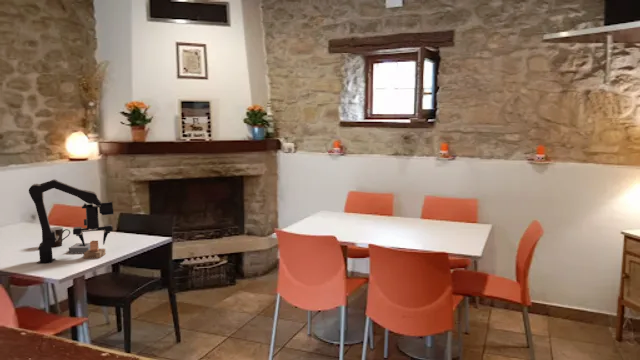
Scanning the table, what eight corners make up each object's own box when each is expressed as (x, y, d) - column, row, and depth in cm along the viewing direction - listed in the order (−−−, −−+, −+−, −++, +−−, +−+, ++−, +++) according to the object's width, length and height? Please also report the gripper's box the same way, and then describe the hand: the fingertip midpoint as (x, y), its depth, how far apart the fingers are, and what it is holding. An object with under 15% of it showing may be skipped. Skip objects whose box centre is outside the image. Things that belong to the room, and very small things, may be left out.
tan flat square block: (100, 258, 263) (99, 252, 263) (84, 258, 263) (83, 252, 262) (105, 254, 271) (105, 248, 271) (90, 254, 271) (89, 248, 270)
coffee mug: (44, 248, 283) (43, 230, 282) (49, 244, 292) (48, 227, 291) (67, 247, 286) (66, 229, 284) (71, 243, 294) (70, 226, 293)
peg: (96, 257, 265) (95, 242, 264) (90, 257, 265) (90, 242, 264) (99, 255, 268) (98, 240, 267) (93, 255, 268) (92, 240, 267)
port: (88, 252, 273) (88, 247, 273) (69, 253, 273) (68, 247, 272) (95, 248, 283) (95, 242, 283) (76, 248, 283) (76, 243, 282)
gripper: (111, 212, 275) (112, 240, 277) (72, 214, 268) (74, 243, 270) (111, 215, 265) (113, 245, 267) (72, 218, 258) (74, 248, 260)
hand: (94, 245), depth 266 cm, fingers open, 9 cm apart
